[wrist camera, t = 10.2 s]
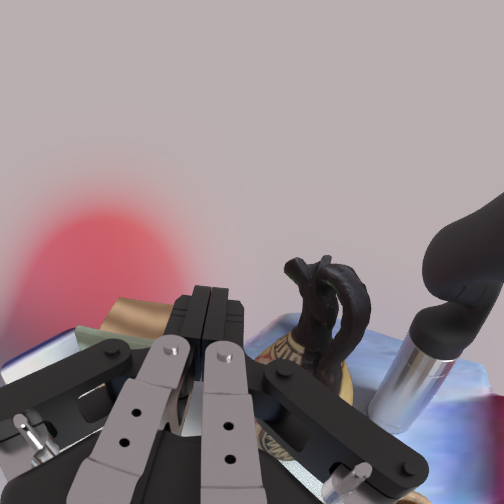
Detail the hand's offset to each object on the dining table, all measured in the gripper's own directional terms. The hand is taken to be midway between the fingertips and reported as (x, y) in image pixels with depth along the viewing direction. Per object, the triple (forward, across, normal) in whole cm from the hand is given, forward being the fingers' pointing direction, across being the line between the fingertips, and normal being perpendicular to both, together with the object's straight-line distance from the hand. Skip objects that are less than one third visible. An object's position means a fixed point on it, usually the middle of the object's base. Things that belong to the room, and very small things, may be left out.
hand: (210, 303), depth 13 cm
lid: (+21, +12, +22) cm, 33 cm away
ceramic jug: (+12, -10, +32) cm, 36 cm away
